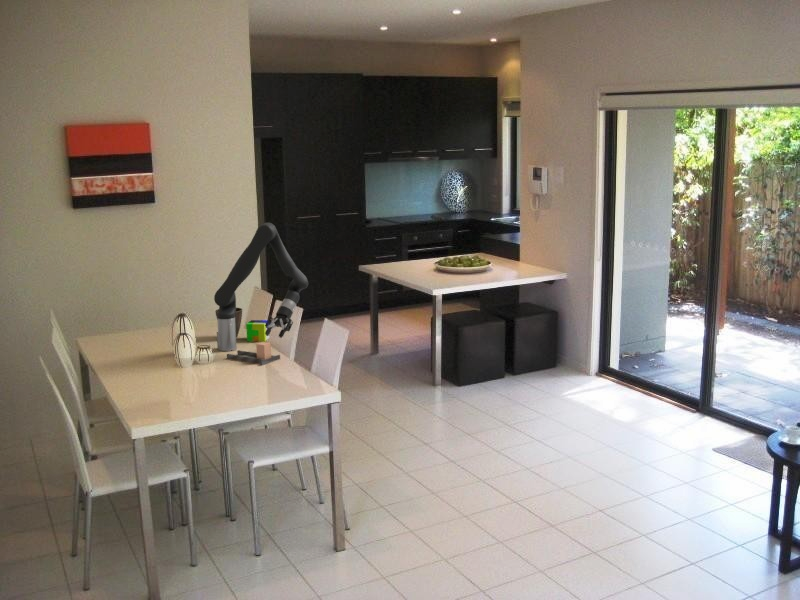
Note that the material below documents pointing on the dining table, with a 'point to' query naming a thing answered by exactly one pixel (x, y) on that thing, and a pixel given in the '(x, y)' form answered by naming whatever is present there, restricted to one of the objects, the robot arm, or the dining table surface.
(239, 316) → the plant pot
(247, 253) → the robot arm
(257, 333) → the puzzle toy
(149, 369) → the dining table surface
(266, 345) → the terracotta block
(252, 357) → the dark grey flat frame
